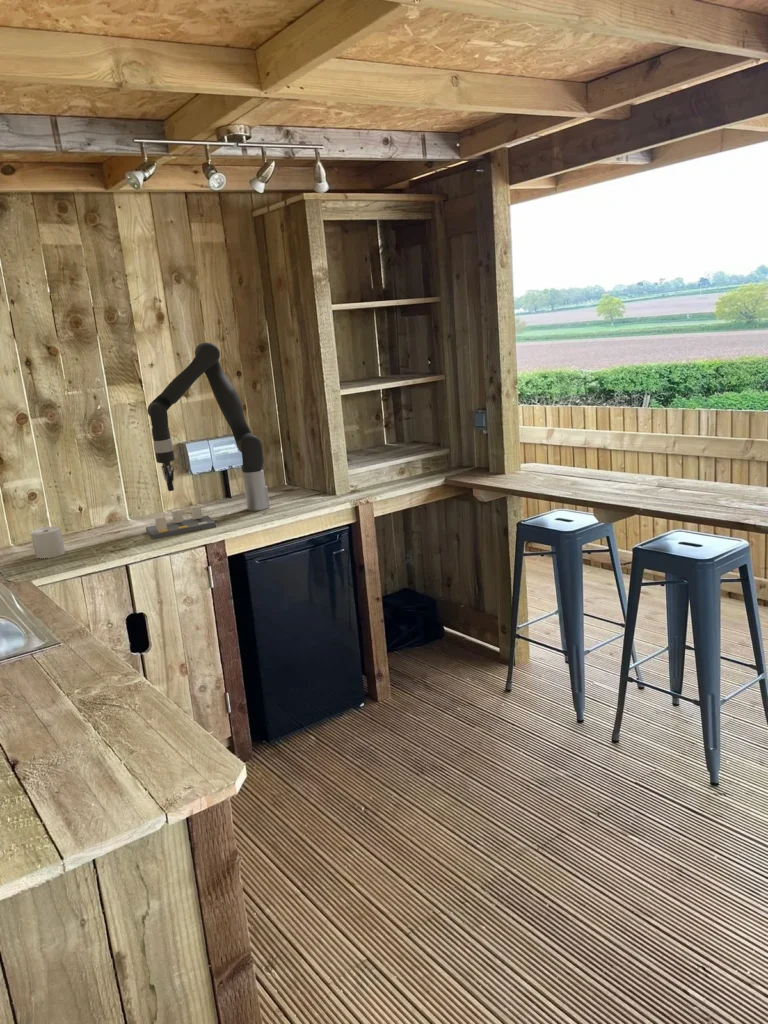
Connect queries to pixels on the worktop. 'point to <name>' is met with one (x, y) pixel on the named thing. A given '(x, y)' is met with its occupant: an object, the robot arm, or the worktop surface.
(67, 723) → the worktop surface
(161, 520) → the slider
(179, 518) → the slider middle
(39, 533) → the toilet tissue
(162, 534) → the switch board
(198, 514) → the slider
